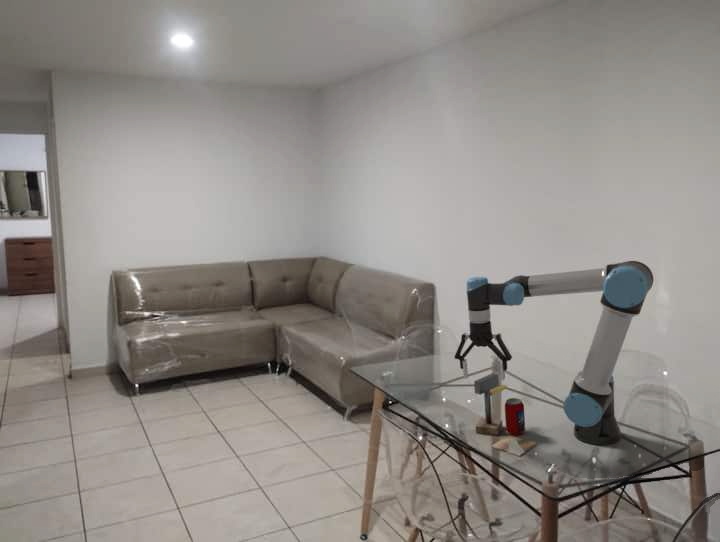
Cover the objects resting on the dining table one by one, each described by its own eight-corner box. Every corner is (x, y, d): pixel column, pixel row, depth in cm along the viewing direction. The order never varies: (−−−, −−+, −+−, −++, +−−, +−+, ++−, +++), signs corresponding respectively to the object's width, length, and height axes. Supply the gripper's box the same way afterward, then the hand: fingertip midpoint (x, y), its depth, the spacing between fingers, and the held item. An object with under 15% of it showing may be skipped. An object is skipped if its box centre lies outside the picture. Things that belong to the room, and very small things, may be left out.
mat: (536, 444, 200) (536, 442, 200) (519, 456, 192) (519, 454, 192) (508, 436, 208) (508, 434, 208) (491, 447, 201) (491, 445, 200)
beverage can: (526, 436, 207) (524, 404, 205) (506, 436, 208) (504, 404, 207) (524, 428, 213) (523, 397, 212) (505, 428, 215) (504, 397, 213)
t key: (503, 412, 222) (500, 369, 220) (508, 414, 221) (506, 370, 218) (477, 426, 212) (474, 381, 210) (482, 428, 210) (479, 382, 208)
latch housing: (502, 426, 217) (502, 419, 217) (497, 435, 210) (497, 428, 209) (481, 424, 220) (480, 417, 220) (476, 432, 213) (475, 426, 213)
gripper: (517, 318, 203) (521, 376, 206) (449, 318, 215) (453, 373, 217) (513, 323, 197) (517, 383, 200) (443, 323, 208) (447, 379, 211)
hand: (484, 378), depth 208 cm, fingers open, 13 cm apart
